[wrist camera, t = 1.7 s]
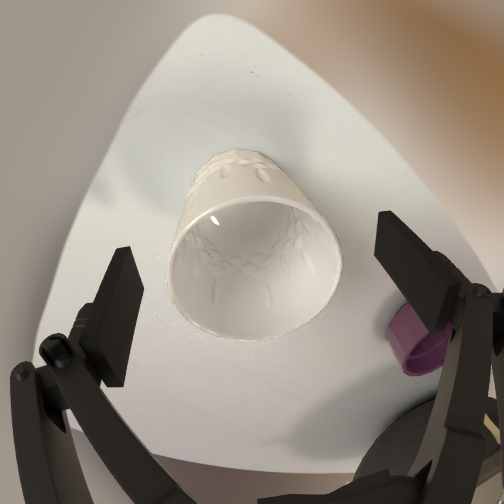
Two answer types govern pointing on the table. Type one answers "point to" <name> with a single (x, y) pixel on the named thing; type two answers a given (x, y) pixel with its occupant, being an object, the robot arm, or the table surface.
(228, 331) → the white cup
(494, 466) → the bowl
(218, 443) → the table surface
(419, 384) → the table surface
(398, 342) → the plum dish
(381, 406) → the table surface
